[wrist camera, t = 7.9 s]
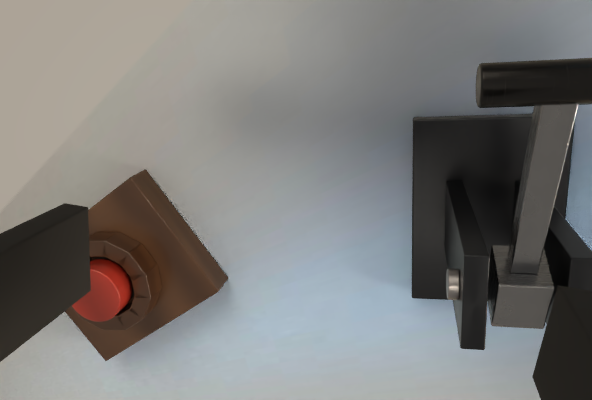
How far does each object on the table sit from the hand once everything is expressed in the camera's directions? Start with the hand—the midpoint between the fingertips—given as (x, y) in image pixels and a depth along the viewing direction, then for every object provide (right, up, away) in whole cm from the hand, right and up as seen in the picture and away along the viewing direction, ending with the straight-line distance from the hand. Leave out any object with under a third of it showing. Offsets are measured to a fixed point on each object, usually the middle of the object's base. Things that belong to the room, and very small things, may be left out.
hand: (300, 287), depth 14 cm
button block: (-13, -2, +26) cm, 29 cm away
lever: (+9, +3, +6) cm, 12 cm away
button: (-13, -4, +22) cm, 26 cm away
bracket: (+12, +2, +19) cm, 22 cm away
